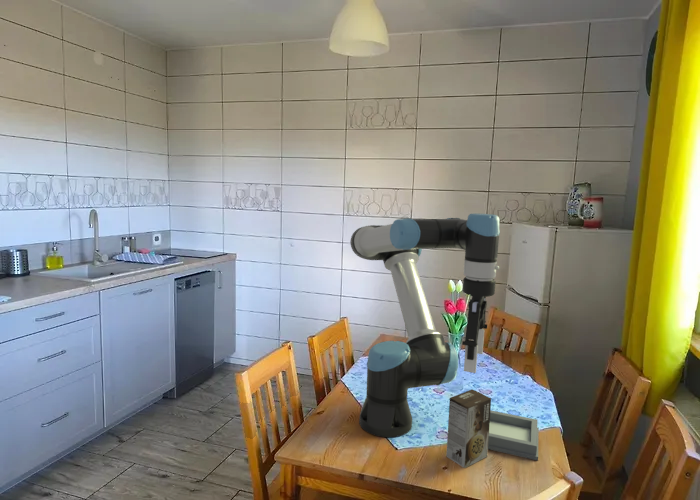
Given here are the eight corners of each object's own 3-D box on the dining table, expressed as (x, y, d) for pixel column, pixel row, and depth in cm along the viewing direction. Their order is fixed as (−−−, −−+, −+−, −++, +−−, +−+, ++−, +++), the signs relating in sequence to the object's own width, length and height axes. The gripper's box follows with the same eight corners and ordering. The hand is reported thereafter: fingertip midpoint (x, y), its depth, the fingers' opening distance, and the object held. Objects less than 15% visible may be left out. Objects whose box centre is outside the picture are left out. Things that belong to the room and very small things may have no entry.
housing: (473, 445, 125) (474, 433, 125) (480, 418, 140) (481, 407, 139) (537, 460, 119) (539, 447, 119) (538, 430, 134) (539, 419, 134)
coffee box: (468, 445, 125) (472, 388, 123) (488, 457, 120) (492, 397, 118) (444, 456, 120) (448, 396, 118) (464, 469, 115) (469, 407, 113)
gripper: (490, 289, 101) (483, 383, 104) (499, 271, 123) (493, 348, 126) (455, 285, 103) (449, 377, 106) (470, 268, 126) (465, 344, 129)
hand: (473, 361), depth 116 cm, fingers open, 13 cm apart
